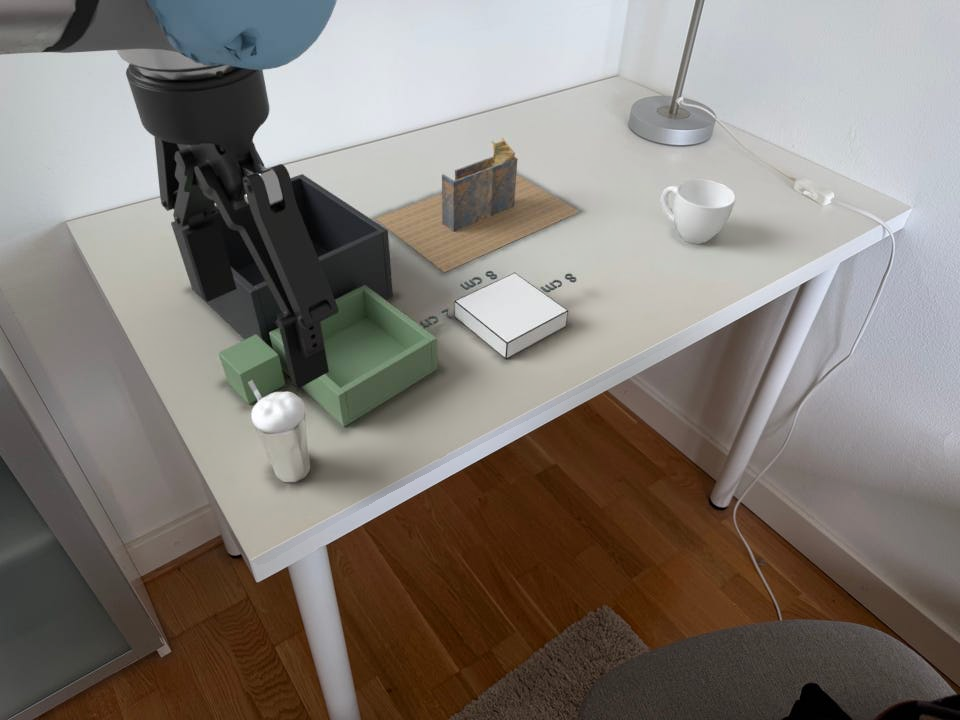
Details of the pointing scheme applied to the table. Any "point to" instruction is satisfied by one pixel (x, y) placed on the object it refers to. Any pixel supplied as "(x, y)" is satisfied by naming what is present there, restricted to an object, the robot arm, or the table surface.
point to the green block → (252, 368)
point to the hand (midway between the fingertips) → (262, 333)
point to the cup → (698, 208)
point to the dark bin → (338, 244)
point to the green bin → (366, 355)
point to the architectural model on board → (476, 212)
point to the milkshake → (282, 433)
